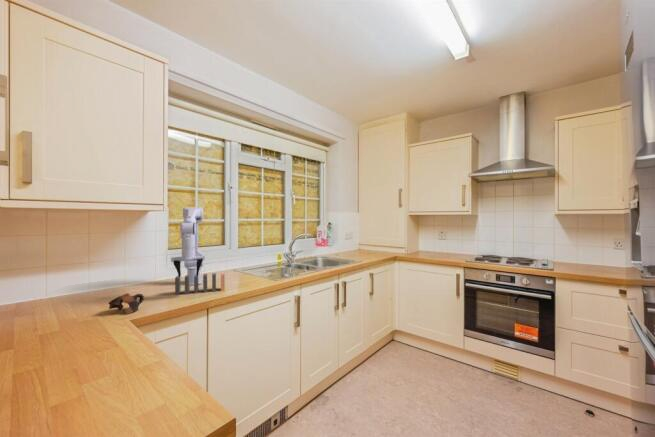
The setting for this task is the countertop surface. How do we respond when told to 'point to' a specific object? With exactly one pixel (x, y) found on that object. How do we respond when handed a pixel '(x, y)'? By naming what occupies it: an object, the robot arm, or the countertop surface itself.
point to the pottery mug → (127, 299)
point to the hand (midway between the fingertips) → (188, 275)
